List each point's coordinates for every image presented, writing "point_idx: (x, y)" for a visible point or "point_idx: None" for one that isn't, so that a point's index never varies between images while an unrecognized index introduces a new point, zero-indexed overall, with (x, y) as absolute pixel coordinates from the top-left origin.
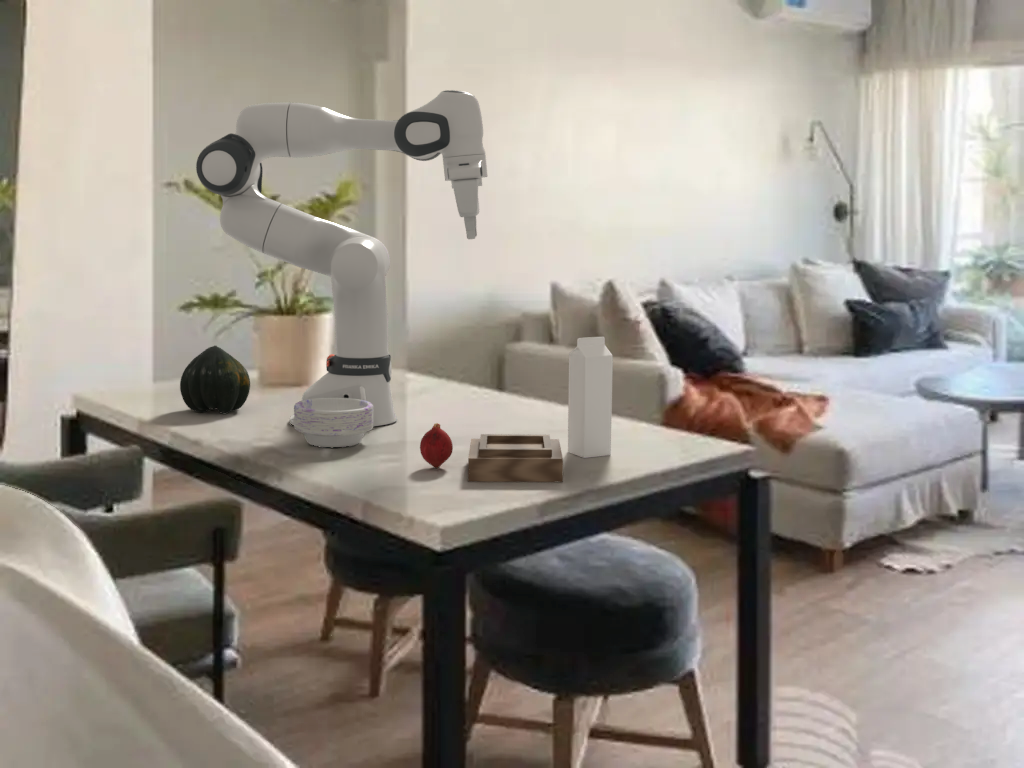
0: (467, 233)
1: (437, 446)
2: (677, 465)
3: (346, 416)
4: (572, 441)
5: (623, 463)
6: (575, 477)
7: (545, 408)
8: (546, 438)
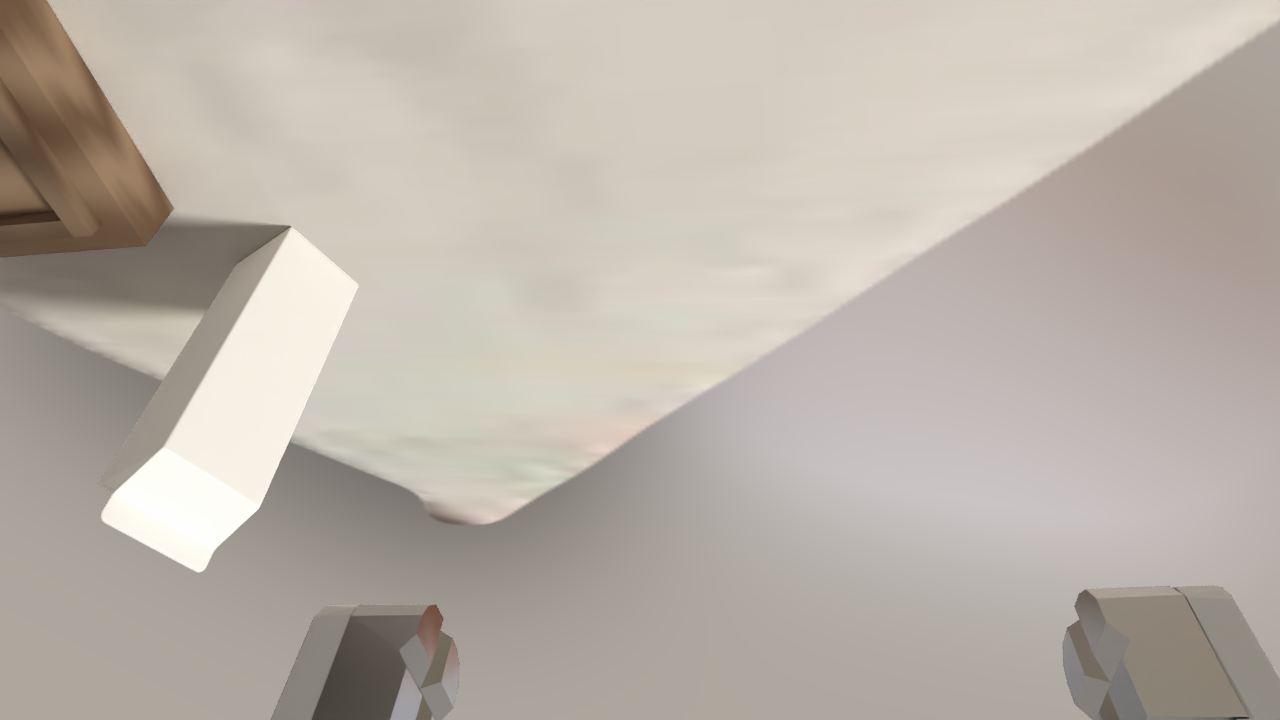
0: (291, 686)
1: None
2: None
3: None
4: (260, 259)
5: None
6: None
7: (1011, 126)
8: (34, 231)
